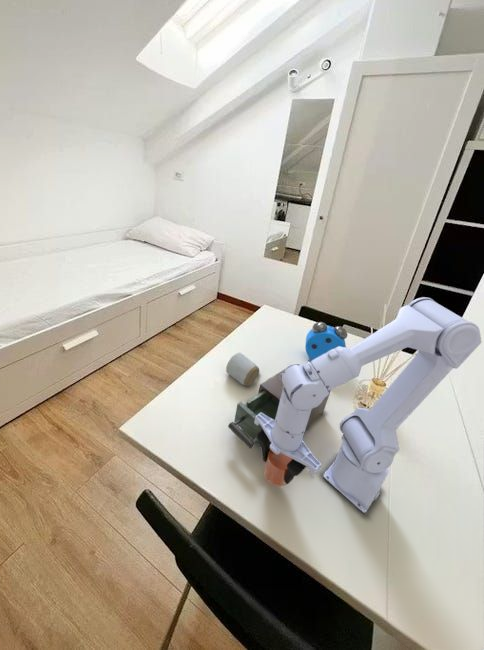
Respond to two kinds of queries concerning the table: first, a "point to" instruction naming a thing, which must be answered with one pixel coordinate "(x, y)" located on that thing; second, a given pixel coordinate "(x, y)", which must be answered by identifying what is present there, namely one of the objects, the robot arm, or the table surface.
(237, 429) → the drawer
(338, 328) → the alarm clock
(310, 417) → the cabinet
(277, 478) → the orange cylinder canister
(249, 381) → the ceramic mug
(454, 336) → the robot arm
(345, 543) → the table surface
